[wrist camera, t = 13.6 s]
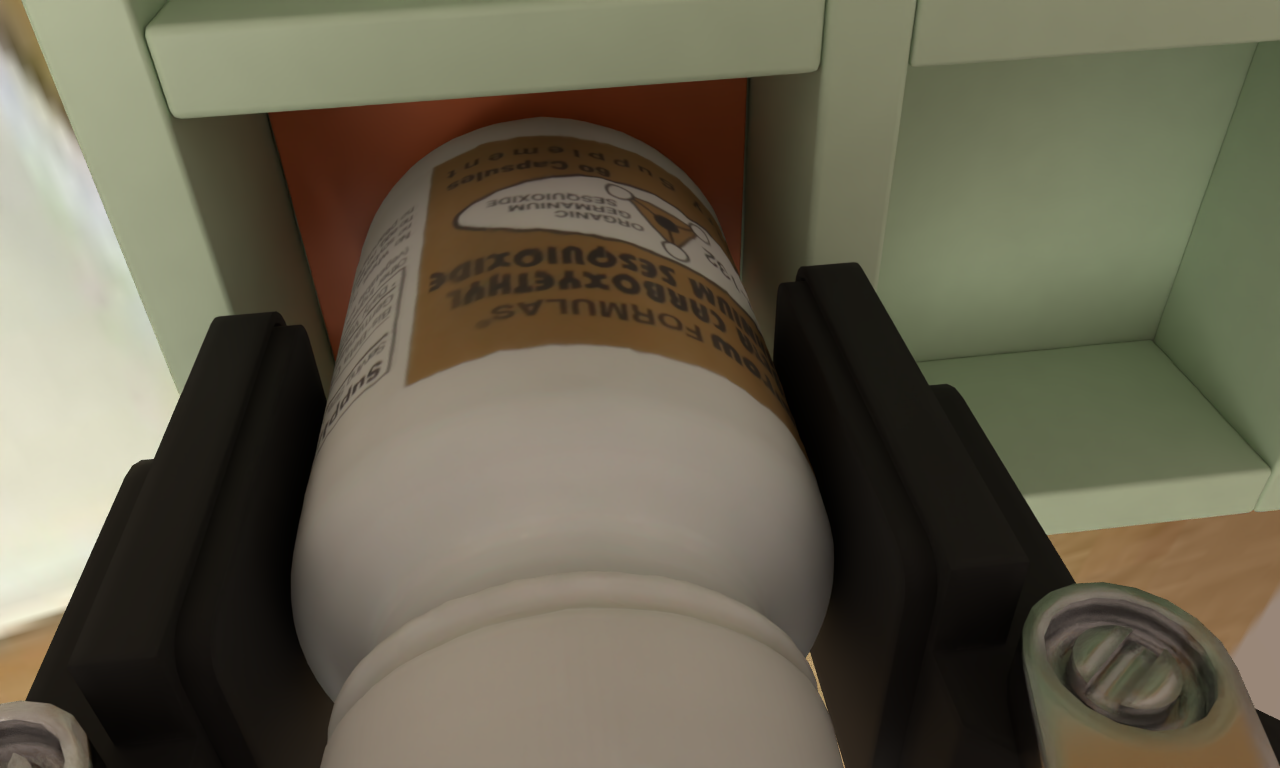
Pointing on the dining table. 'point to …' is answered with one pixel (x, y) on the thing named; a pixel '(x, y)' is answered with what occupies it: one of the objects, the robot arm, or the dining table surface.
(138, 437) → the dining table surface
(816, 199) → the grid
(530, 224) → the pill bottle
